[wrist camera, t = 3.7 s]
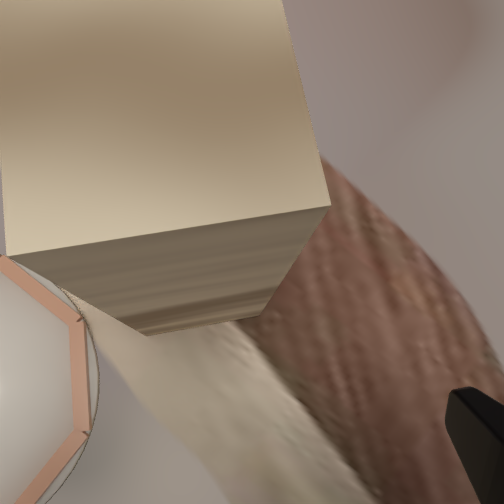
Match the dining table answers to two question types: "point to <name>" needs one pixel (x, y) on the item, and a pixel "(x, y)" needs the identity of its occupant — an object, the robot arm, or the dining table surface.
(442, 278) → the dining table surface
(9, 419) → the ring stand
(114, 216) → the wooden block
